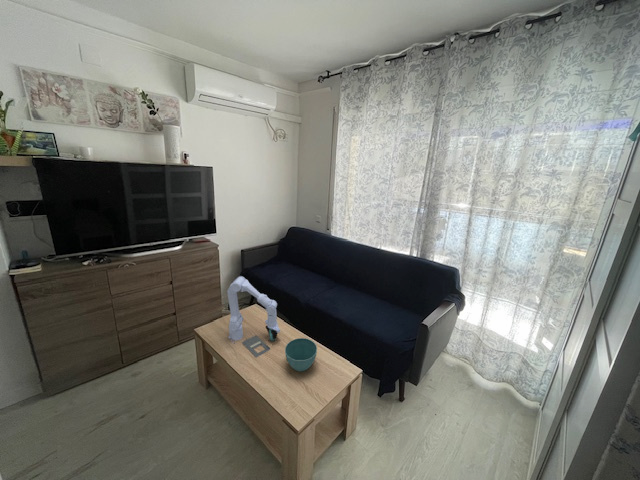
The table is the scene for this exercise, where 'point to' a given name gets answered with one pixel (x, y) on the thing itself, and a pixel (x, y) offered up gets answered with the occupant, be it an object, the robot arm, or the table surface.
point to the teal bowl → (301, 353)
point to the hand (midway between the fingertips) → (272, 336)
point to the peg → (271, 335)
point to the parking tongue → (272, 341)
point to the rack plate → (255, 345)
